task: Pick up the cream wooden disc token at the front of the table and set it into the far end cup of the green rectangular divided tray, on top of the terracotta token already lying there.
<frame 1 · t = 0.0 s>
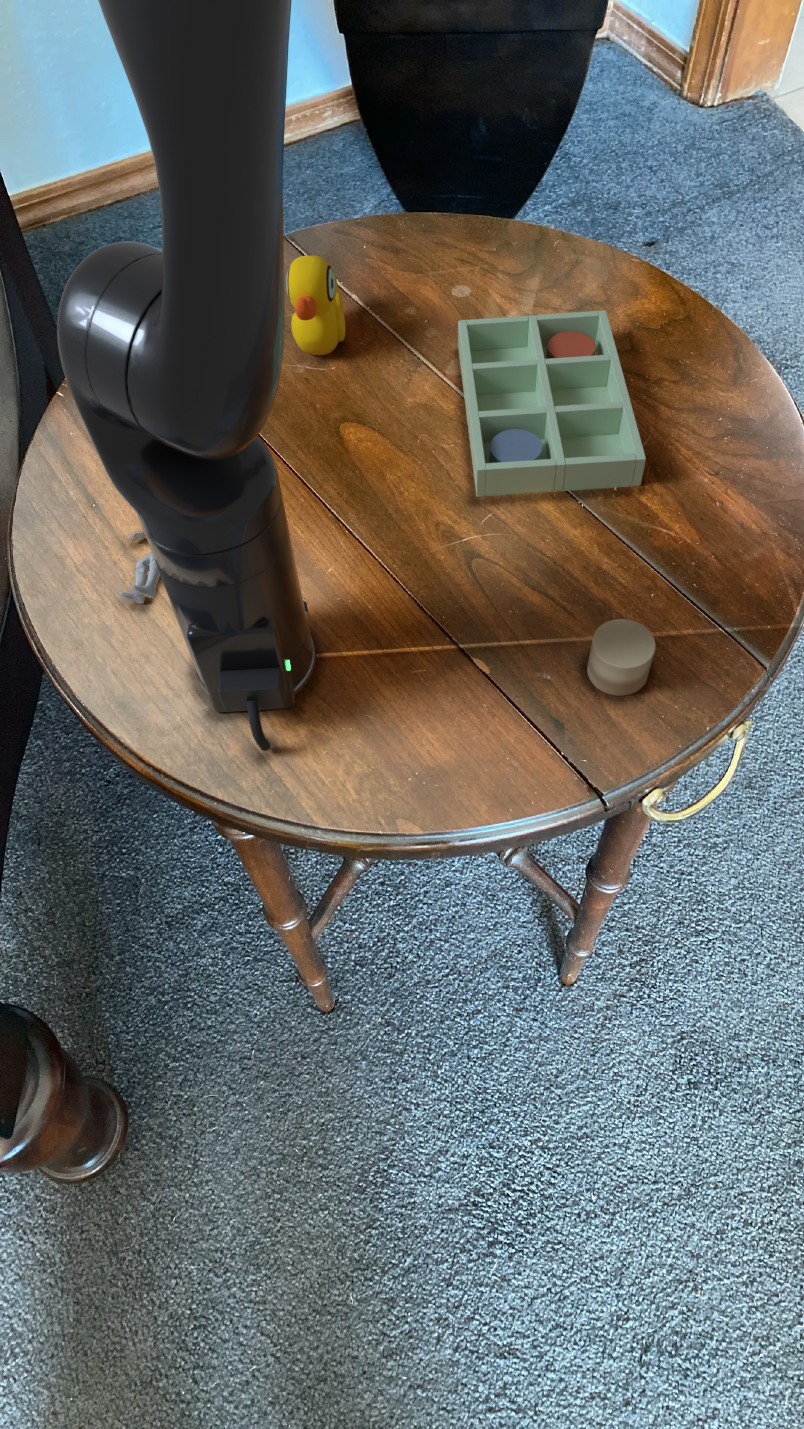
green rectangular divided tray: (542, 416, 91), on the table
slate token: (515, 463, 87), point 1 cm above the table, touching green rectangular divided tray
cream token: (617, 671, 75), on the table
duckling: (321, 348, 99), on the table
soldier figure: (170, 559, 84), on the table
terracotta token: (569, 363, 95), point 1 cm above the table, touching green rectangular divided tray
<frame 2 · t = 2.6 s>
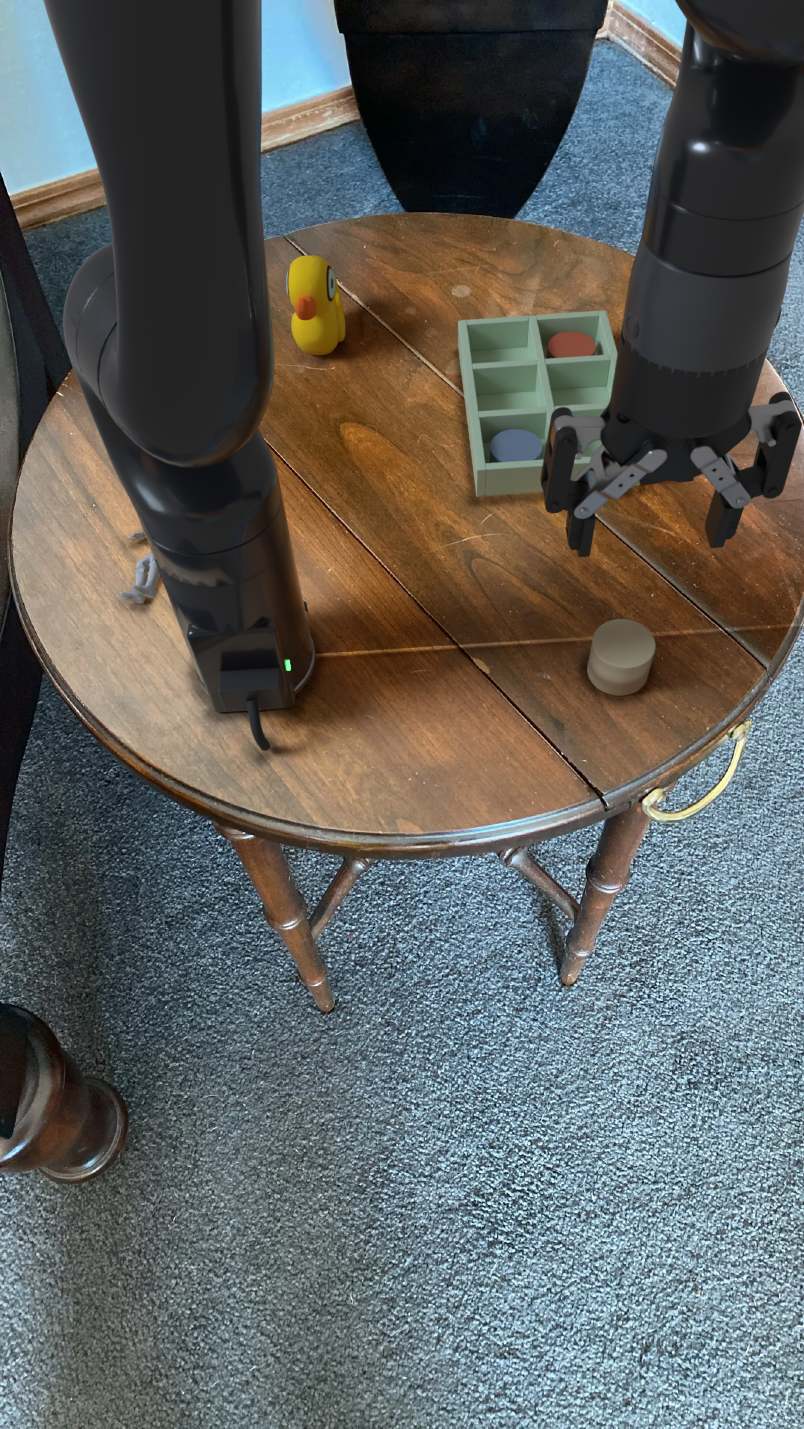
hand: (646, 543, 63), 14 cm above the table, tool pointing down, fingers open, 8 cm apart
nothing on the table moved.
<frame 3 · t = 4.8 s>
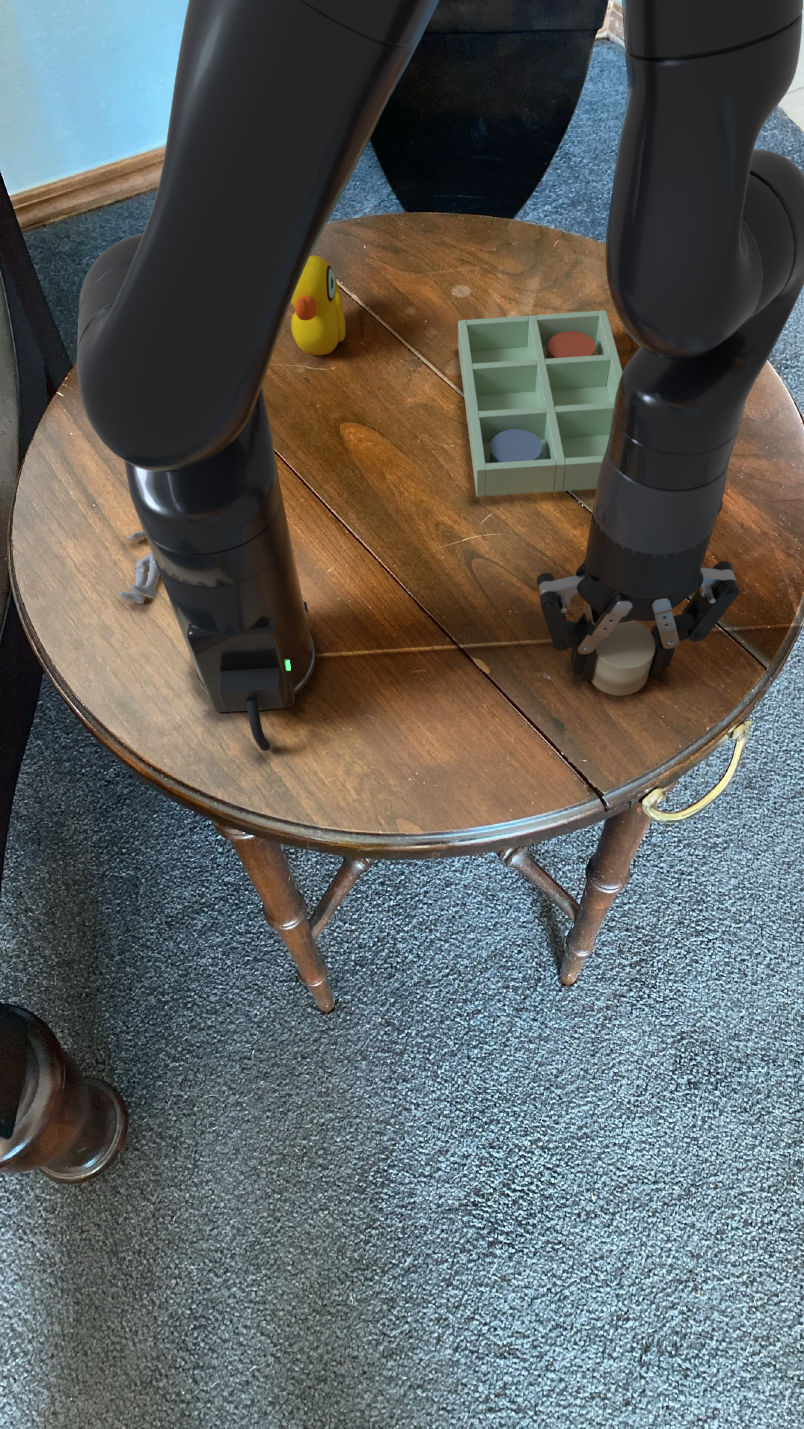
hand: (617, 668, 74), 0 cm above the table, tool pointing down, fingers closed on cream token, 4 cm apart
cream token: (617, 671, 75), on the table, touching gripper
everything else where it was.
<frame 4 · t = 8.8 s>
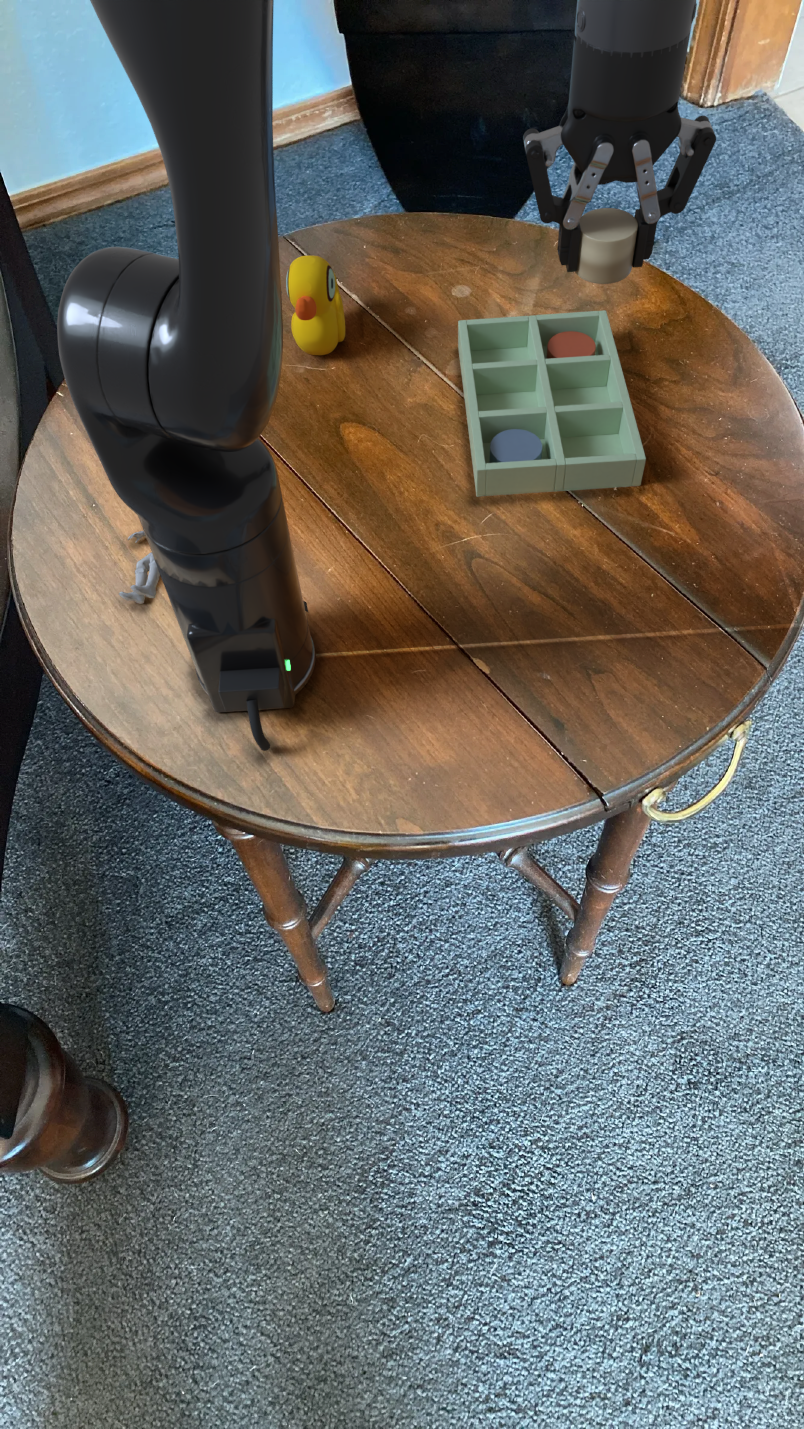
hand: (602, 263, 78), 16 cm above the table, tool pointing down, fingers closed on cream token, 4 cm apart
cream token: (602, 267, 78), point 15 cm above the table, touching gripper
everything else where it was.
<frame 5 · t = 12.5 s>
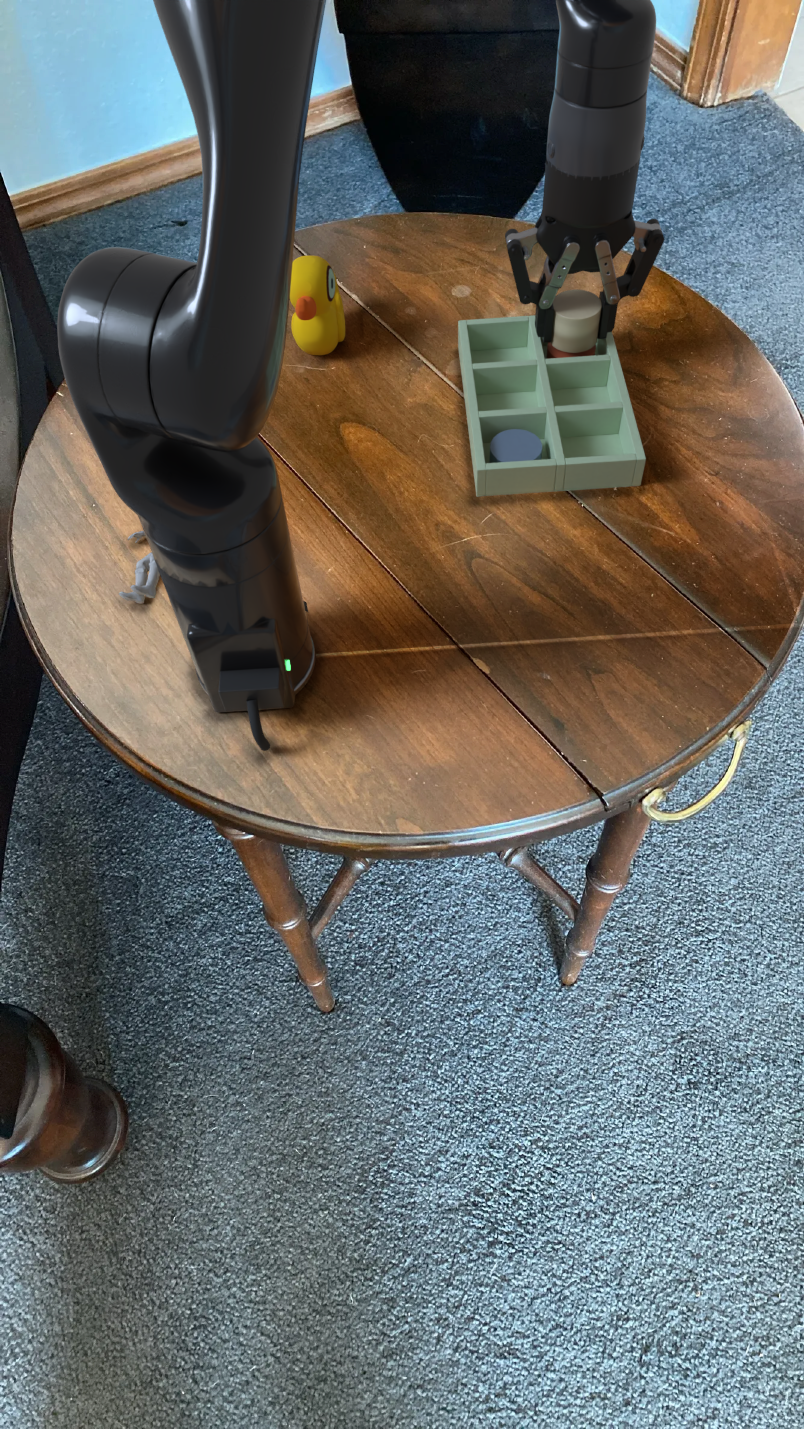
hand: (572, 334, 92), 4 cm above the table, tool pointing down, fingers closed on cream token, 4 cm apart
cream token: (572, 338, 92), point 3 cm above the table, touching gripper
everything else where it was.
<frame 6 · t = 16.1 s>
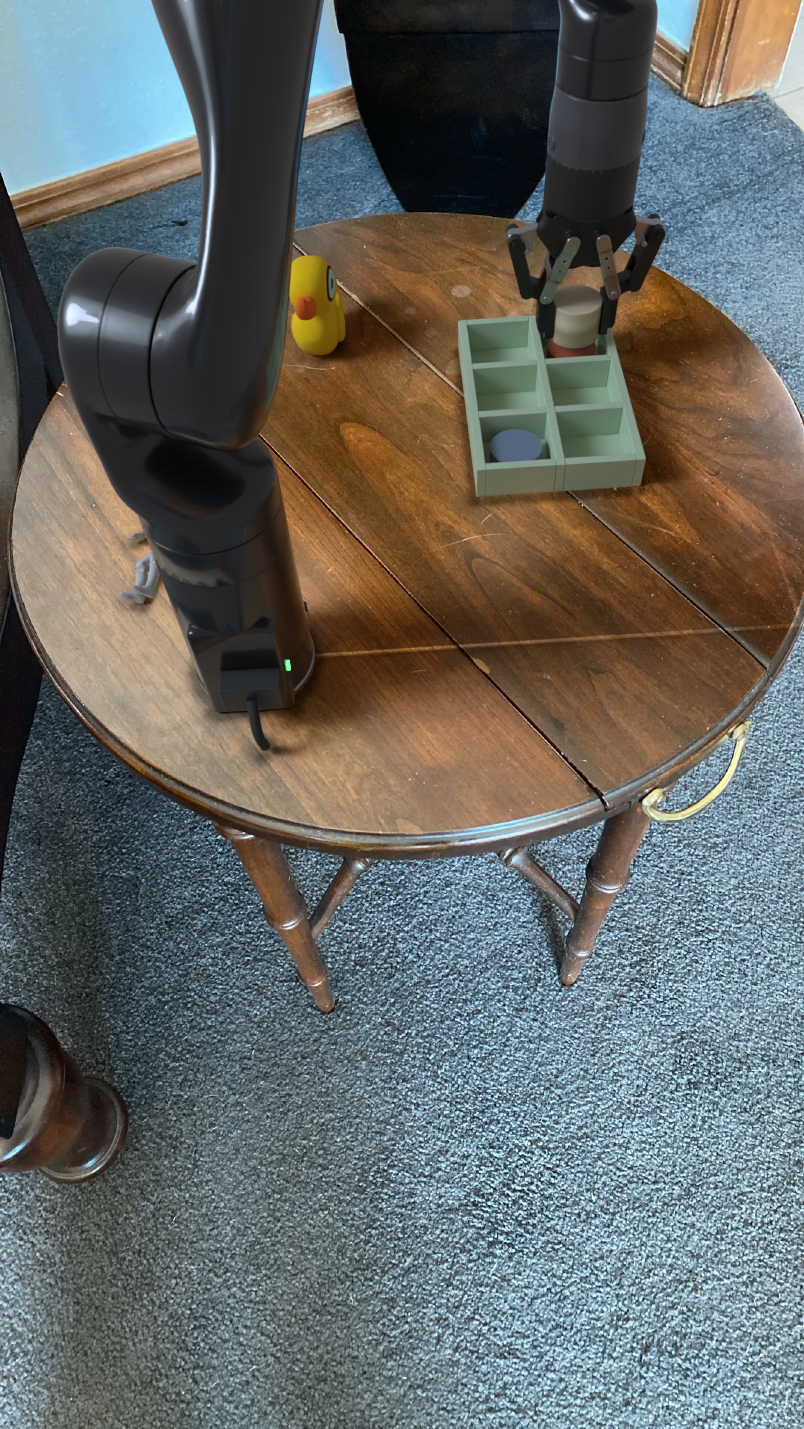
hand: (573, 330, 91), 4 cm above the table, tool pointing down, fingers closed on cream token, 4 cm apart
cream token: (573, 333, 92), point 4 cm above the table, touching gripper
everything else where it was.
when the fingers open (5 cm above the table, at t = 19.6 s): cream token drops 2 cm, resting on terracotta token.
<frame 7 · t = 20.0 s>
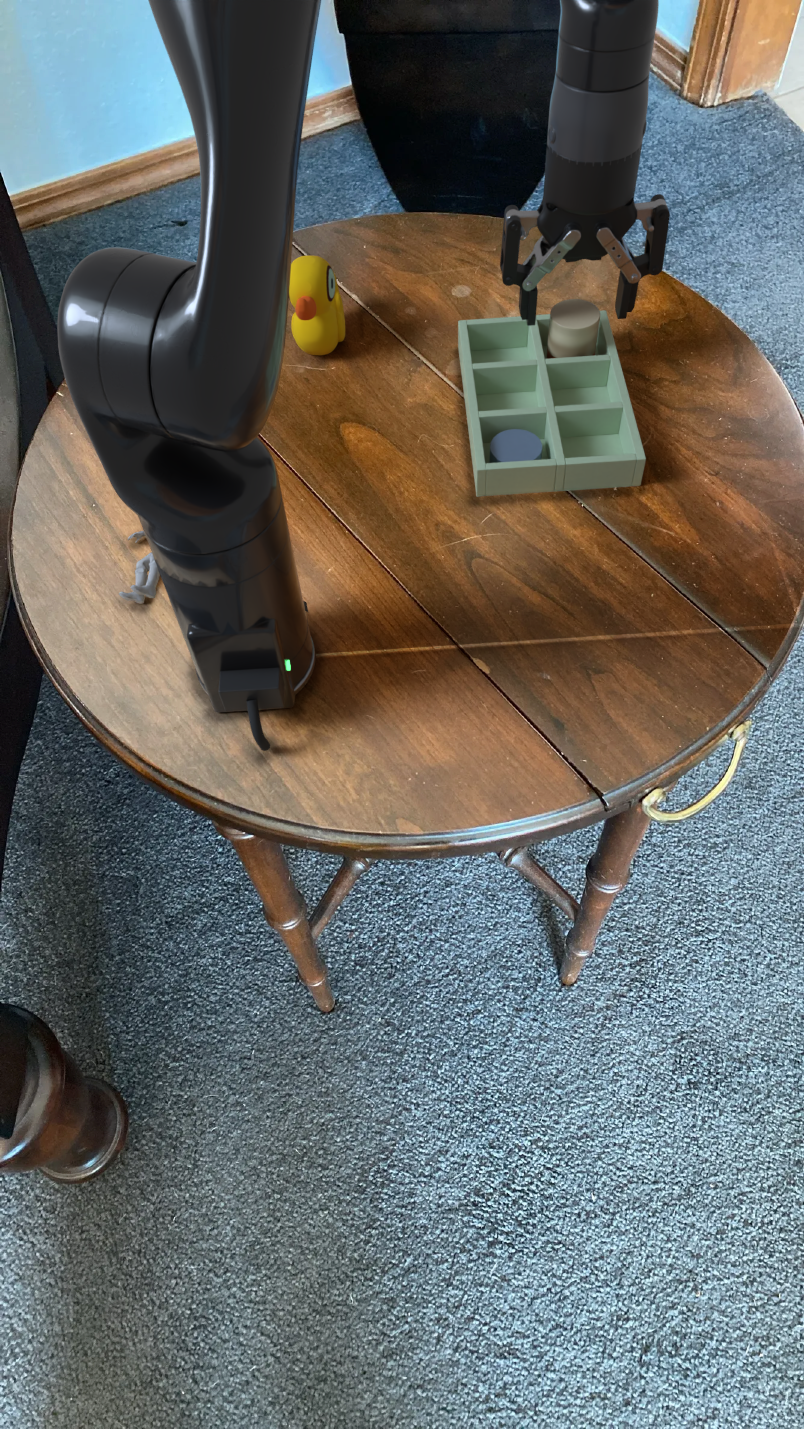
hand: (574, 317, 90), 6 cm above the table, tool pointing down, fingers open, 8 cm apart
cream token: (571, 346, 93), point 3 cm above the table, touching terracotta token
terracotta token: (569, 363, 95), point 1 cm above the table, touching cream token, green rectangular divided tray
everything else where it was.
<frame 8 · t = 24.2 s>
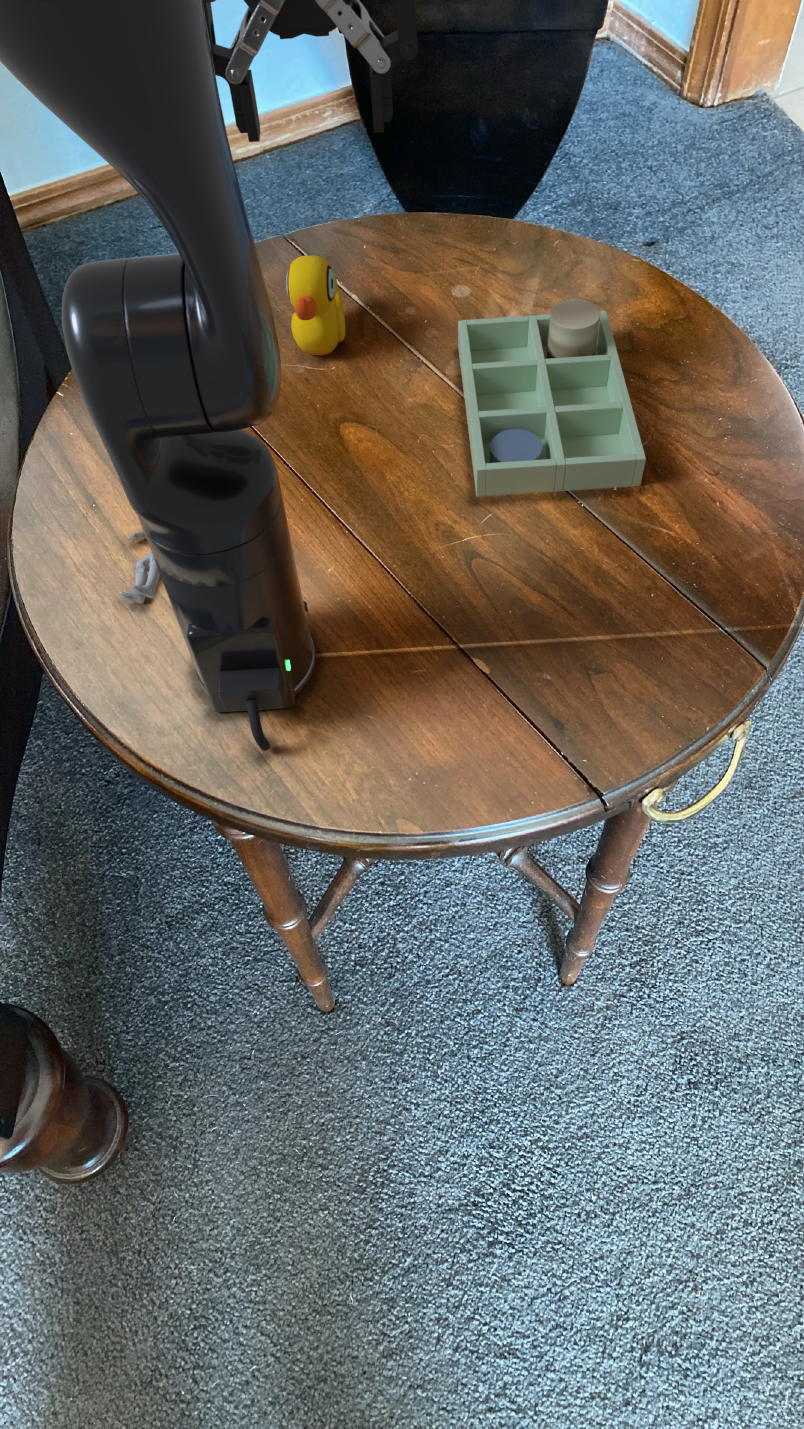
hand: (316, 131, 67), 28 cm above the table, tool pointing down, fingers open, 8 cm apart
nothing on the table moved.
at the end: cream token 0.2 cm from the target spot in the green rectangular divided tray, point 2.6 cm above the green rectangular divided tray's base; cream token 0.2 cm from the terracotta token (horizontally); cream token tilted 0° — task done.
